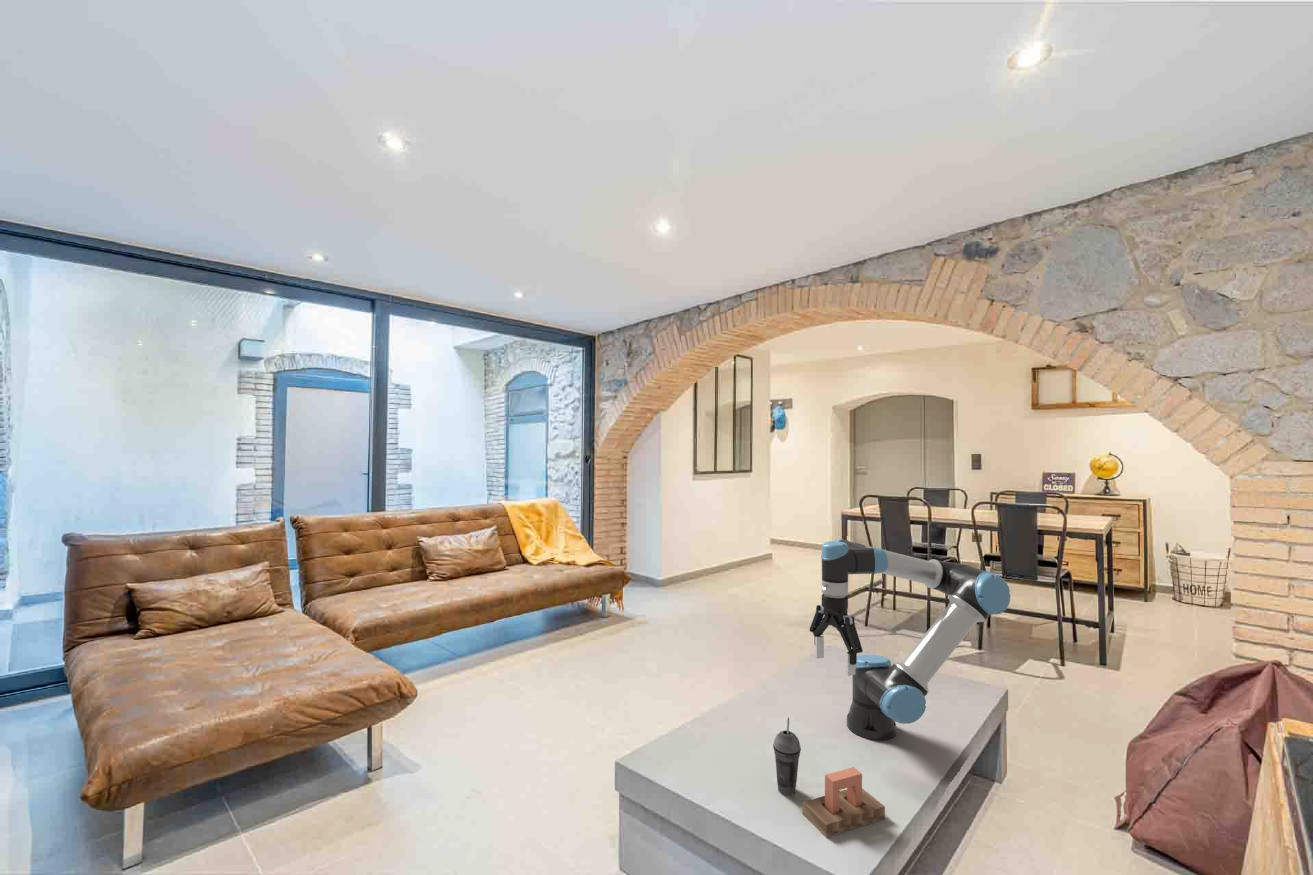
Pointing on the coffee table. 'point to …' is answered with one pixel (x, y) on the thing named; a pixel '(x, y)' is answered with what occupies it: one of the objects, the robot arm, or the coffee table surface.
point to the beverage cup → (786, 760)
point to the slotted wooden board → (843, 814)
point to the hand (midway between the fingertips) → (834, 665)
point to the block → (841, 781)
